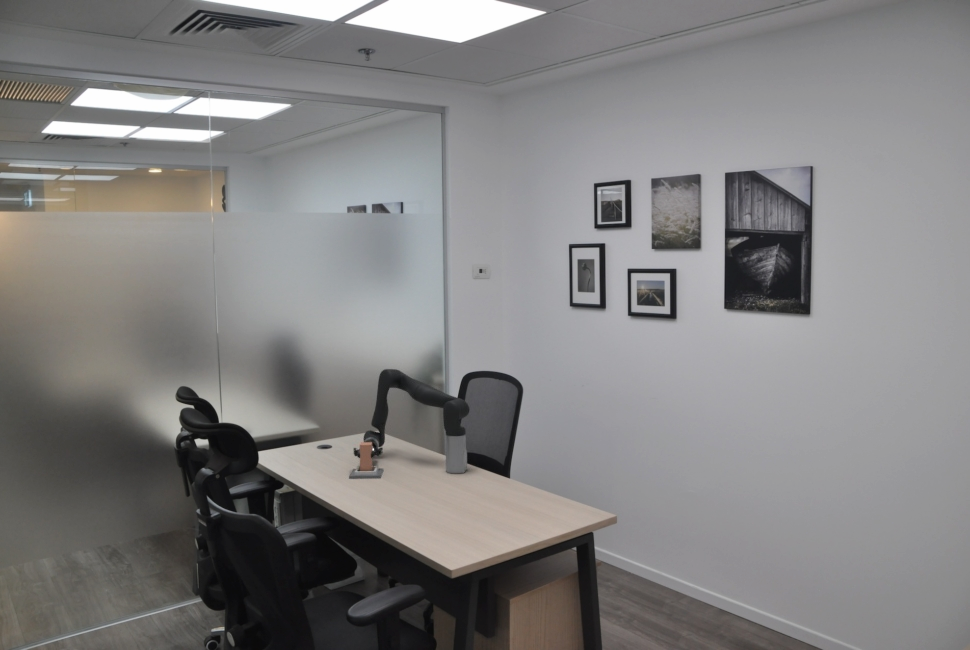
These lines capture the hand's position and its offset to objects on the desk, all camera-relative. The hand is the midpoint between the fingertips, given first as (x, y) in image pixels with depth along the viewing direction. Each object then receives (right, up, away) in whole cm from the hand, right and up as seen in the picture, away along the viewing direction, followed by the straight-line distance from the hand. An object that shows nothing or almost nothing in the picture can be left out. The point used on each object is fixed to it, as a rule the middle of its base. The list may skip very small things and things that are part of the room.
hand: (365, 455), depth 327 cm
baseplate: (0, -9, +3) cm, 10 cm away
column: (0, -7, +3) cm, 8 cm away
